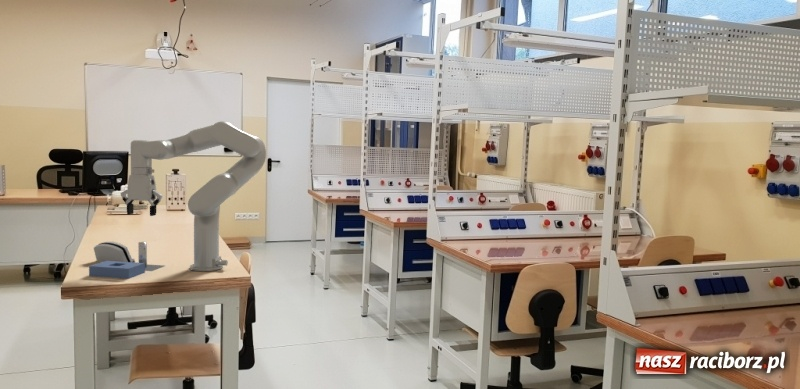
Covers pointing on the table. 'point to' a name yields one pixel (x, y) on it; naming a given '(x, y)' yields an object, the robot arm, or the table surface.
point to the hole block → (117, 269)
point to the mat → (153, 267)
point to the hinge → (112, 252)
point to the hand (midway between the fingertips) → (141, 214)
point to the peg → (142, 252)
